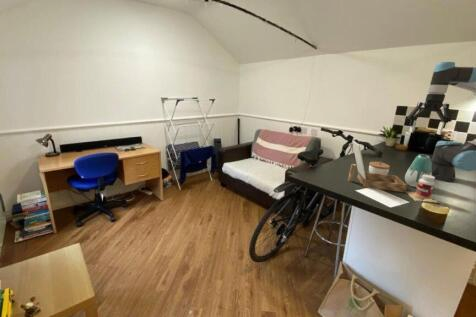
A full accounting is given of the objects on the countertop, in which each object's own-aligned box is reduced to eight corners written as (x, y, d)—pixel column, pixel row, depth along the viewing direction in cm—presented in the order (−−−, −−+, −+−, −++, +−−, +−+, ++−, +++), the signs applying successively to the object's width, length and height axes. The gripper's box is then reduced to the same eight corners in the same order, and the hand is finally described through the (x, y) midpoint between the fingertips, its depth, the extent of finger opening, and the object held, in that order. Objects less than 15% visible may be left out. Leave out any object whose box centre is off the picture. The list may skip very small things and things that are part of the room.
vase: (430, 192, 120) (440, 160, 115) (403, 186, 126) (412, 155, 121) (426, 185, 130) (436, 155, 124) (402, 180, 136) (410, 151, 130)
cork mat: (427, 194, 117) (427, 193, 117) (439, 204, 107) (439, 202, 107) (405, 192, 119) (406, 191, 118) (415, 201, 109) (415, 199, 109)
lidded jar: (390, 180, 134) (394, 165, 131) (370, 178, 136) (373, 163, 133) (382, 174, 144) (386, 160, 141) (364, 172, 146) (367, 158, 143)
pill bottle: (411, 195, 114) (418, 174, 111) (418, 193, 117) (424, 173, 114) (426, 200, 109) (433, 179, 106) (432, 198, 112) (439, 177, 108)
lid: (353, 140, 130) (352, 140, 130) (359, 145, 117) (358, 145, 118) (359, 170, 134) (357, 171, 134) (365, 178, 122) (364, 179, 122)
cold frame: (394, 182, 132) (398, 165, 129) (405, 192, 119) (410, 174, 116) (345, 176, 137) (348, 160, 134) (351, 185, 124) (355, 168, 121)
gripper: (458, 94, 121) (446, 133, 128) (406, 92, 126) (396, 130, 133) (469, 95, 114) (455, 136, 121) (413, 92, 119) (402, 132, 126)
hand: (424, 133), depth 127 cm, fingers open, 13 cm apart
